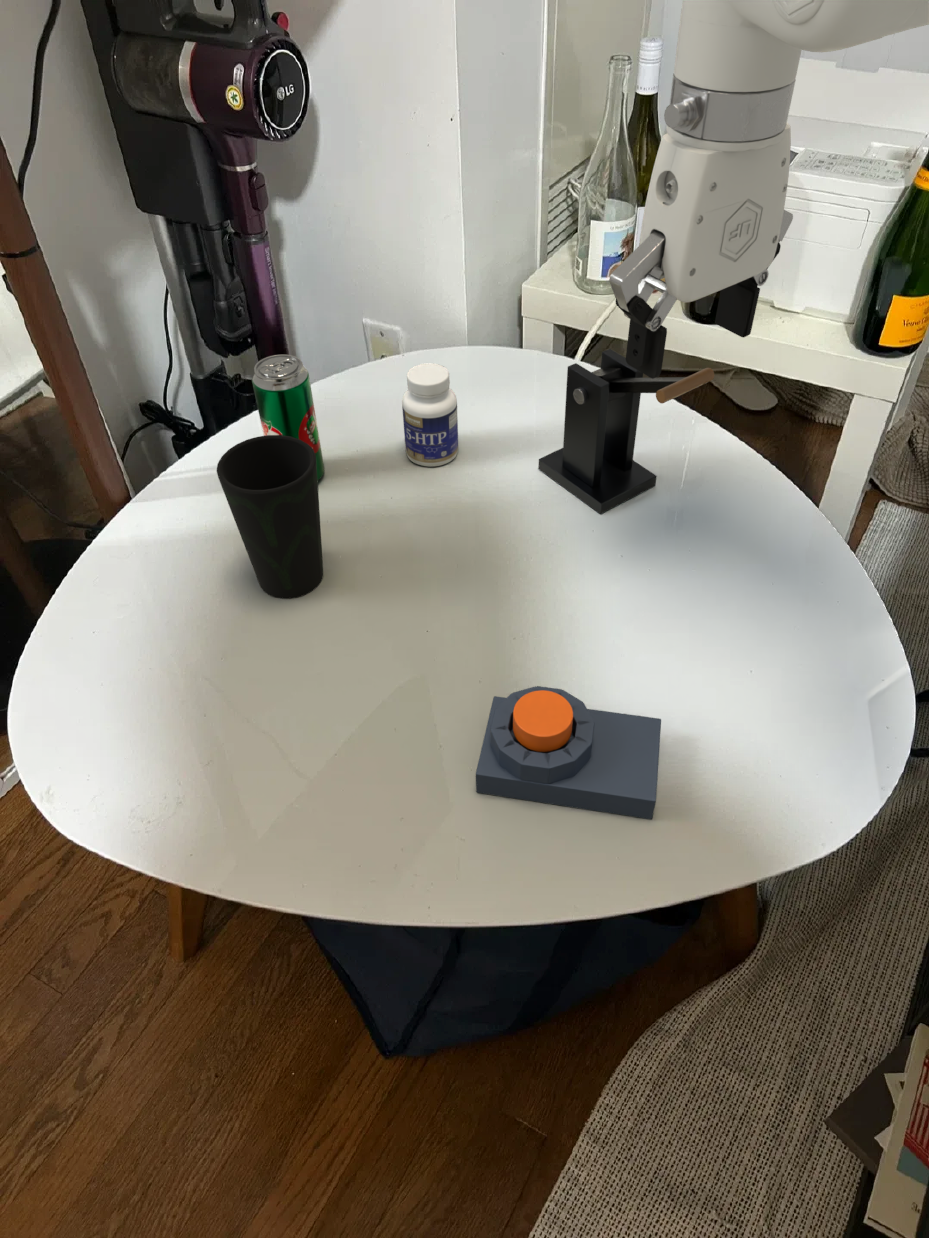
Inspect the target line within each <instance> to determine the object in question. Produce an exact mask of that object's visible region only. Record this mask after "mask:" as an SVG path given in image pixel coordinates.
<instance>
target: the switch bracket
mask: <svg viewBox="0 0 929 1238" xmlns="http://www.w3.org/2000/svg"><path fill="white" fill-rule="evenodd" d="M603 368H621V372H622V377H623V378H644V374H643V373H642V372H640V371H638V370H637V369H635V368H633V367H631V366H630V365H628V364H627V362H626V356H623V355H622V354H620V353H618V352H616V351H615V350H614V349H611V348H608V349H605V350H604V351H602V352H601V359H600V369H603ZM592 372H593V371H590V370H589V369H587V368H585V367H584V366H582V365H580V364H579V363H577V362H575V363H573V364H570V365H568V366H567V372H566V391H565V407H564V424H563V425H564V426H563V429H564V430H563V444H562V448H559V449H557V450H554V451H553V452H551V453H549V454H547V455H544V456H542V457H540V458H538V467H537V468H538V470H539V471H541V472H542V473H543V474H544V475H546V476H547V477H549V478H550V479H551V480H552V481H554V482H556V483H557V484H558V485H559V486H561V487H562V488H564V489H565V490H567V491H568V492H569V493H571V494H572V495H573V496H575V497H576V498H577V499H579V500H580V501H581V502H583V503H584V504H586V505H587V506H589V508H590V509H593V510H594V511H595V512H596V513H598V514H599V515H602V514H603V513H605V512H608V511H609V510H611V509H614V508H615V507H617V506H619V505H621V504H623V503H625V502H627V501H628V500H631V499H633V498H635V497H636V496H639V495H641V494H642V493H644V492H646V491H648V490H649V489H652V488H653V487H655V486H656V484H657V476H658V475H656V474H655V473H653V472H652V471H650V470H649V469H647V468H646V467H644V466H643V465H641V464H639V463H638V462H637V461H635V460H634V452H635V445H636V437H637V429H638V420H639V411H640V404H641V403H640V402H641V396H642V393H626V395H624V396H622V397H619V398H617V399H615V400H613V401H611V402H608V396H609V385H610V383H608V382H607V381H605V380H603V379H602V378H600V377H598V376H597V375H595V374H593V373H592Z"/></svg>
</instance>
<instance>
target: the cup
mask: <svg viewBox="0 0 929 1238" xmlns="http://www.w3.org/2000/svg"><path fill="white" fill-rule="evenodd" d="M216 474H217V478H218V481H219V483H220V486H221V489H222V491H223V493H224V496H225V498H226V501H227V504H228V507H229V509H230V511H231V514H232V518H233V519H234V521H235V524H236V525H235V526H236V527H237V529H238V530H237V531H238V533H239V535H240V538H241V540H242V543H243V545H244V548H245V550H246V553H247V556H248V558H249V561H250V564H251V566H252V569H253V572H254V574H255V576H256V579H257V581H258V584H259V587H260V588H261V590H262V591H263V592H264V593H265V594H267V595H268V596H270V597H273V598H277V599H284V600H285V599H289V600H290V599H296V598H301V597H303V596H306V595H308V594H310V593H312V592H313V591H314V590H315V589H316V588H318V587H319V585H320V584H321V583H322V580H323V578H324V563H323V546H322V531H321V513H320V497H319V480H318V479H317V463H316V455H315V452H314V450H313V449H312V448H311V447H310V446H309V445H308V444H307V443H305V442H303V441H302V440H300V439H297V438H294V437H291V436H284V435H266V436H264V435H260V436H255V437H252V438H248V439H246V440H243V441H241V442H238V443H236V444H235V445H233V446H232V447H231V448H229V449H228V450H226V451H225V452H224V454H222V455H221V457H220V458H219V461H218V462H217V465H216Z"/></svg>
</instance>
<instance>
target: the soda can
mask: <svg viewBox="0 0 929 1238" xmlns="http://www.w3.org/2000/svg"><path fill="white" fill-rule="evenodd" d="M253 372H254V373H253V375H252V378H251V383H252V388H253V392H254V396H255V402H256V407H257V412H258V415H259V420H260V424H261V430H262V434H263V436H266V435H284V436H291V437H294V438H297V439H300V440H302V441H303V442H305V443H307V444H308V445H309V446H310V447H311V448H312V449H313V450H314V452H315V455H316V463H317V479H318V481H320V479H321V478H322V477H323V476H324V473H325V464H324V457H323V452H322V447H321V446H322V445H321V439H320V434H319V427H318V422H317V415H316V410H315V409H316V408H315V404H314V396H313V391H312V385H311V384H312V383H311V380H310V375H309V374H310V373H309V371H308V369H307V368H306V367H305V366H304V363H303V361H302V360H301V358H299V357H297V356H295V355H292V354H273V355H269V356H266V357H264V358H261V359H260V360H258V361H257V362H256V364H255V365H254V368H253Z"/></svg>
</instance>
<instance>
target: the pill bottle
mask: <svg viewBox="0 0 929 1238" xmlns="http://www.w3.org/2000/svg"><path fill="white" fill-rule="evenodd" d="M406 381H407V383H406V384H407V390H406V391H405V392H404V394H403V395H402V398H401V405H402V406H401V409H402V420H403V434H404V447H405V455H406V457H407V458H408V459H409V460H410V461H411V462H413V463H414V464H416V465H419V466H422V467H439V466H443V465H446V464H448V463H450V462H452V461H453V460H454V459H456V456H457V455H458V452H459V427H458V426H459V425H458V424H459V423H458V422H459V421H458V420H459V419H458V400H457V395H456V393H455V392H454V390H453V389H452V388H451V387H450V386H451V385H450V384H451V380H450V372H449V369H448V368H447V367H445V366H444V365H441V364H438V363H433V362H426V363H421V364H420V363H419V364H417V365H415V366H412V367H411V368H410V369H409V370H408V371H407V374H406Z"/></svg>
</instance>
